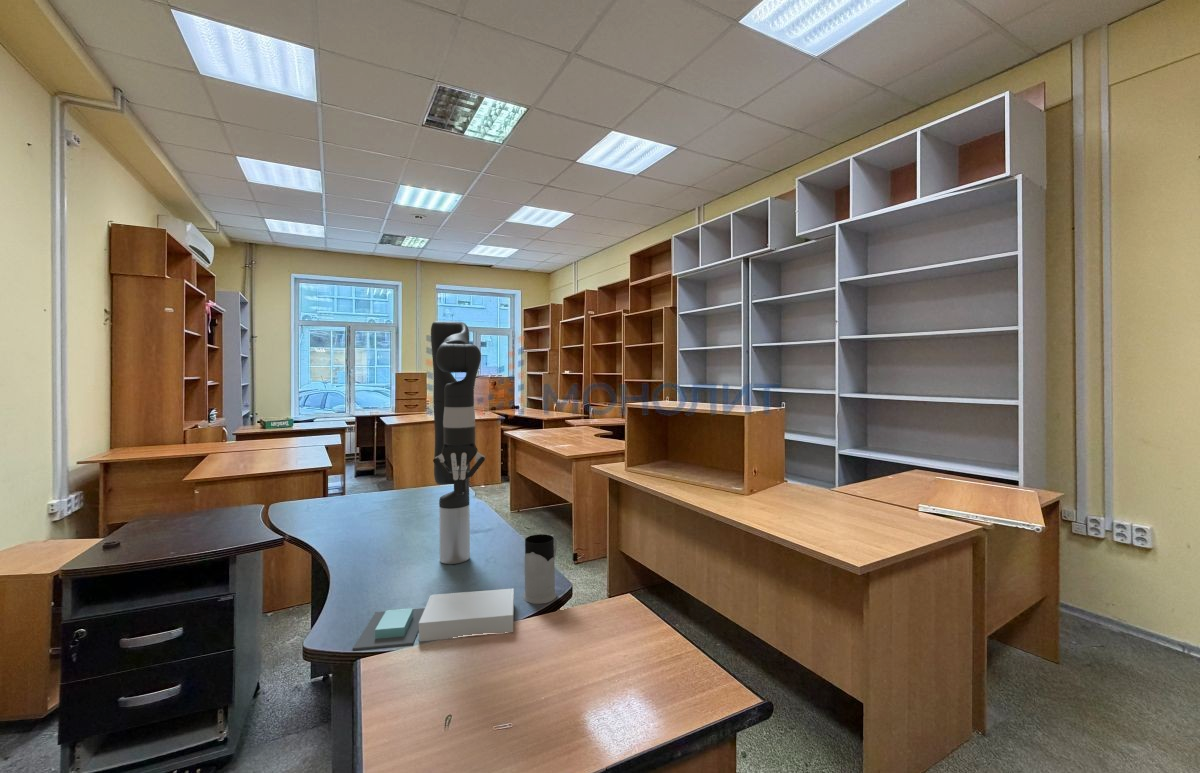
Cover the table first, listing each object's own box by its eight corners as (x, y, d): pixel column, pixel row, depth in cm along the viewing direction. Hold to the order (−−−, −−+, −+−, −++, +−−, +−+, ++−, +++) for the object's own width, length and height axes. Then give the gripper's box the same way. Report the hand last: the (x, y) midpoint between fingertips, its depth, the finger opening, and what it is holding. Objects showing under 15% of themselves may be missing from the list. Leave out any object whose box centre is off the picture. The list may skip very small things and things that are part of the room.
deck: (430, 611, 116) (430, 594, 116) (513, 604, 119) (513, 588, 119) (418, 641, 102) (418, 623, 102) (512, 632, 105) (512, 615, 105)
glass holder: (516, 600, 121) (516, 542, 121) (542, 579, 134) (541, 526, 134) (547, 605, 118) (547, 546, 118) (570, 583, 131) (569, 529, 131)
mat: (375, 613, 115) (375, 612, 115) (427, 609, 117) (427, 607, 117) (352, 650, 99) (352, 648, 99) (412, 644, 101) (412, 642, 101)
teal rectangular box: (413, 608, 112) (413, 616, 112) (386, 610, 111) (386, 618, 111) (404, 627, 103) (404, 636, 103) (375, 629, 102) (375, 639, 102)
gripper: (487, 422, 122) (488, 489, 122) (434, 423, 120) (435, 491, 120) (485, 426, 114) (486, 496, 115) (428, 427, 112) (429, 499, 113)
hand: (460, 494), depth 118 cm, fingers closed
